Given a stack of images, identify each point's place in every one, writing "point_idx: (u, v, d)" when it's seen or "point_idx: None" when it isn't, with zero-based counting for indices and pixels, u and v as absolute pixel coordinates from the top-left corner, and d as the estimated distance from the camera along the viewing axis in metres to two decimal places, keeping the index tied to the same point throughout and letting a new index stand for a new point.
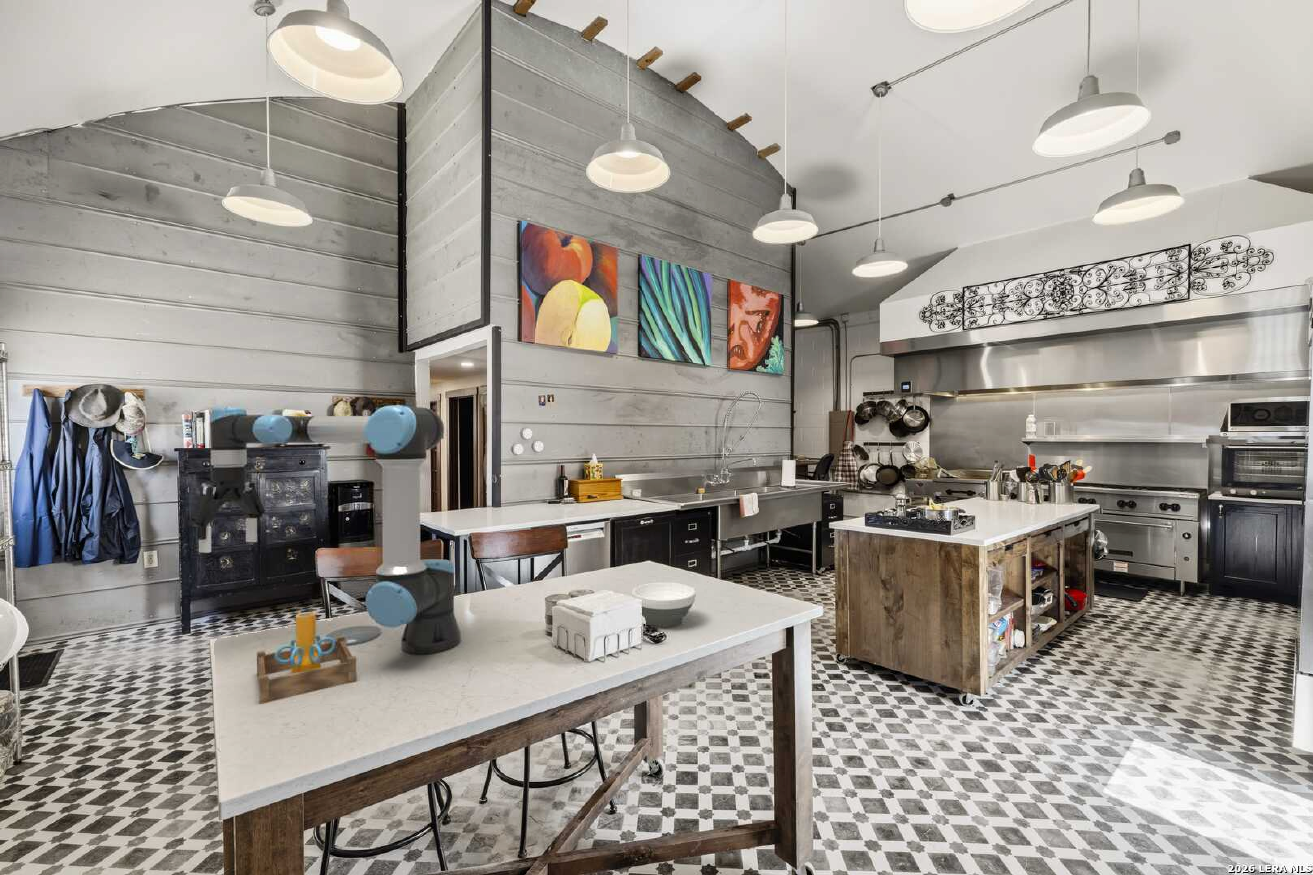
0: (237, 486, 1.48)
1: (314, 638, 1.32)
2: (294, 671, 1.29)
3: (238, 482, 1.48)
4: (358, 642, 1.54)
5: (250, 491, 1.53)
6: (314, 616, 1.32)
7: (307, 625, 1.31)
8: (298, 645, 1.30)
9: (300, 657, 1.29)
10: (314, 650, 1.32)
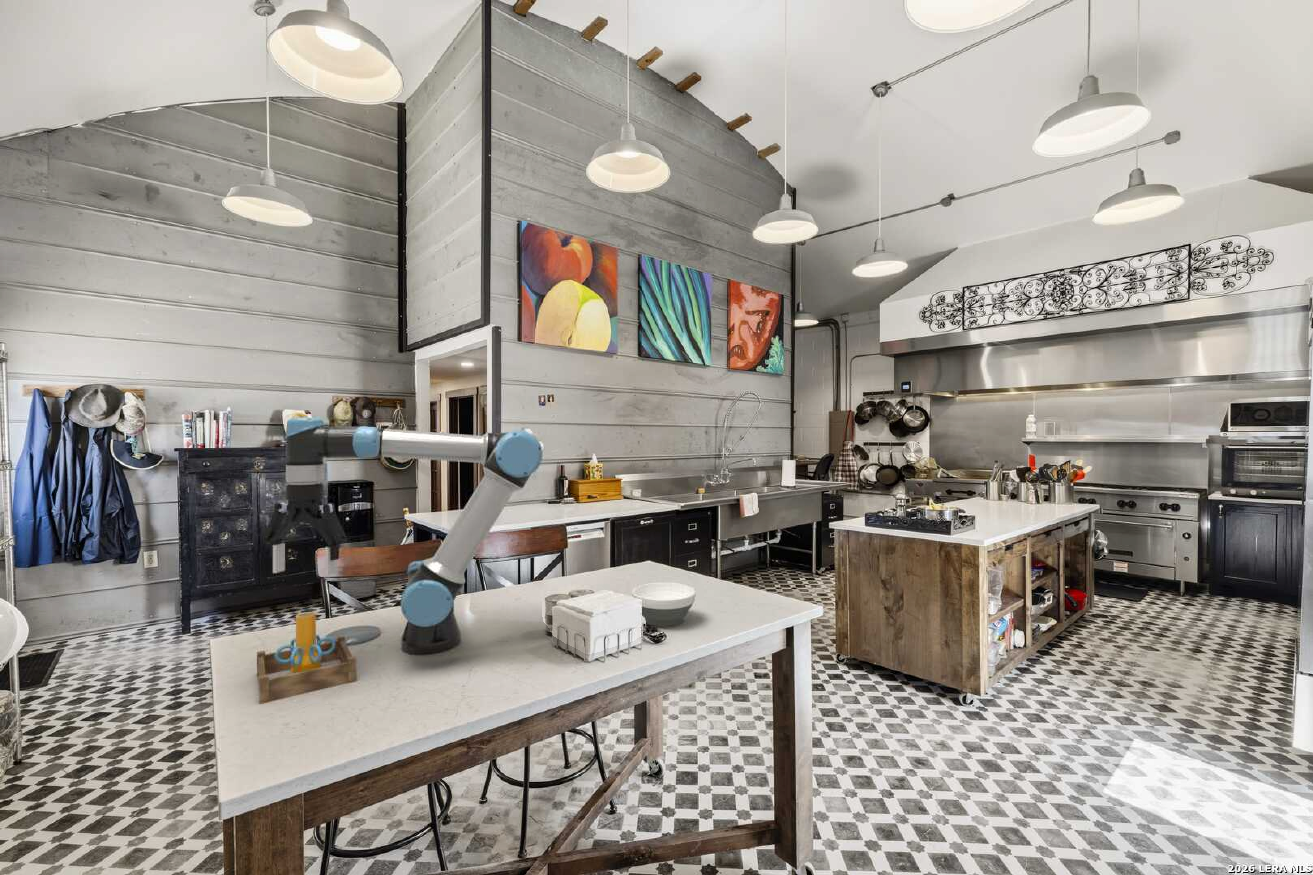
0: (306, 506, 1.31)
1: (314, 638, 1.32)
2: (294, 671, 1.29)
3: (307, 502, 1.31)
4: (358, 642, 1.54)
5: None
6: (314, 616, 1.32)
7: (307, 625, 1.31)
8: (298, 645, 1.30)
9: (300, 657, 1.29)
10: (314, 650, 1.32)
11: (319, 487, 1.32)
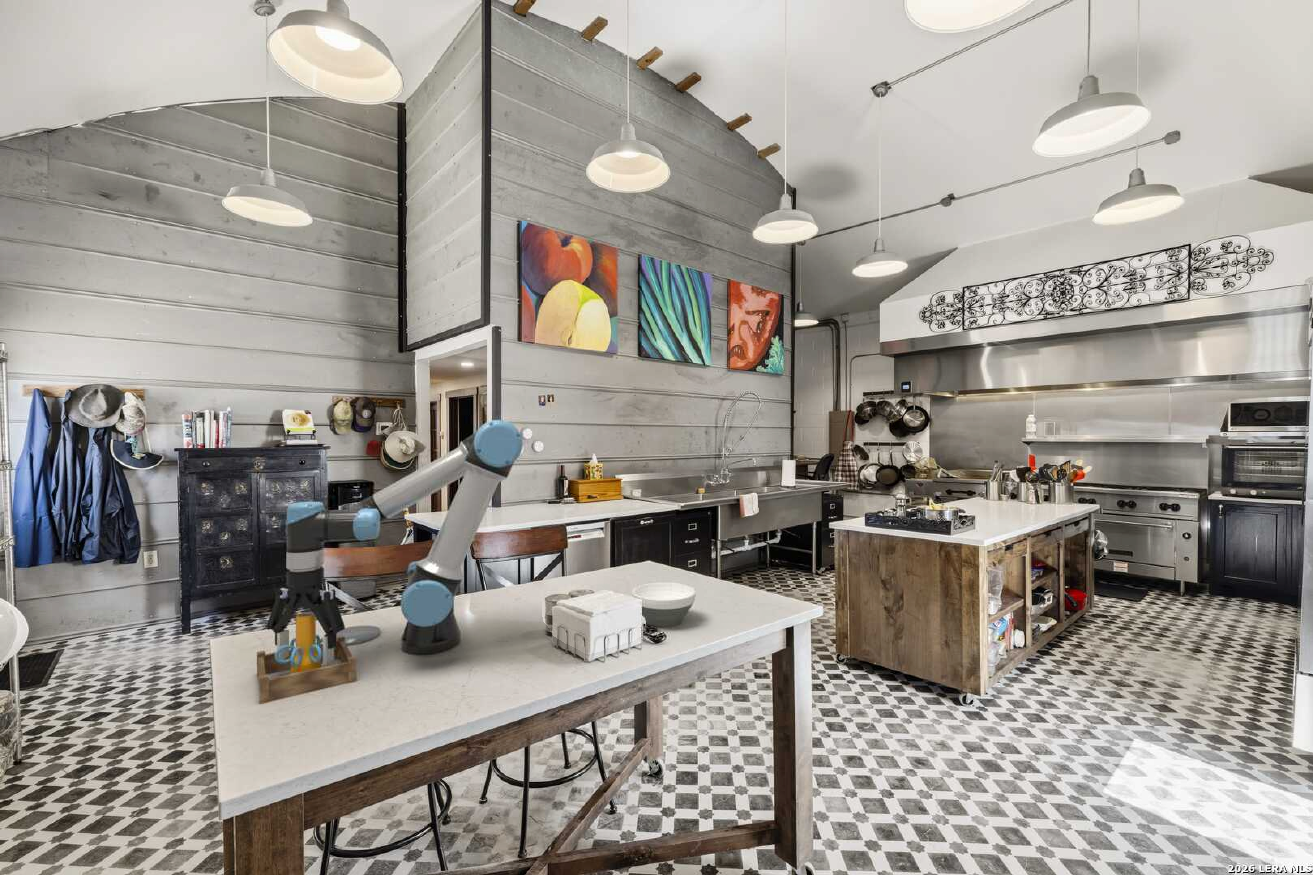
0: (306, 592, 1.31)
1: (314, 638, 1.32)
2: (294, 671, 1.29)
3: (308, 588, 1.31)
4: (358, 642, 1.54)
5: None
6: (314, 616, 1.32)
7: (307, 625, 1.31)
8: (298, 645, 1.30)
9: (300, 657, 1.29)
10: (314, 650, 1.32)
11: (320, 572, 1.32)
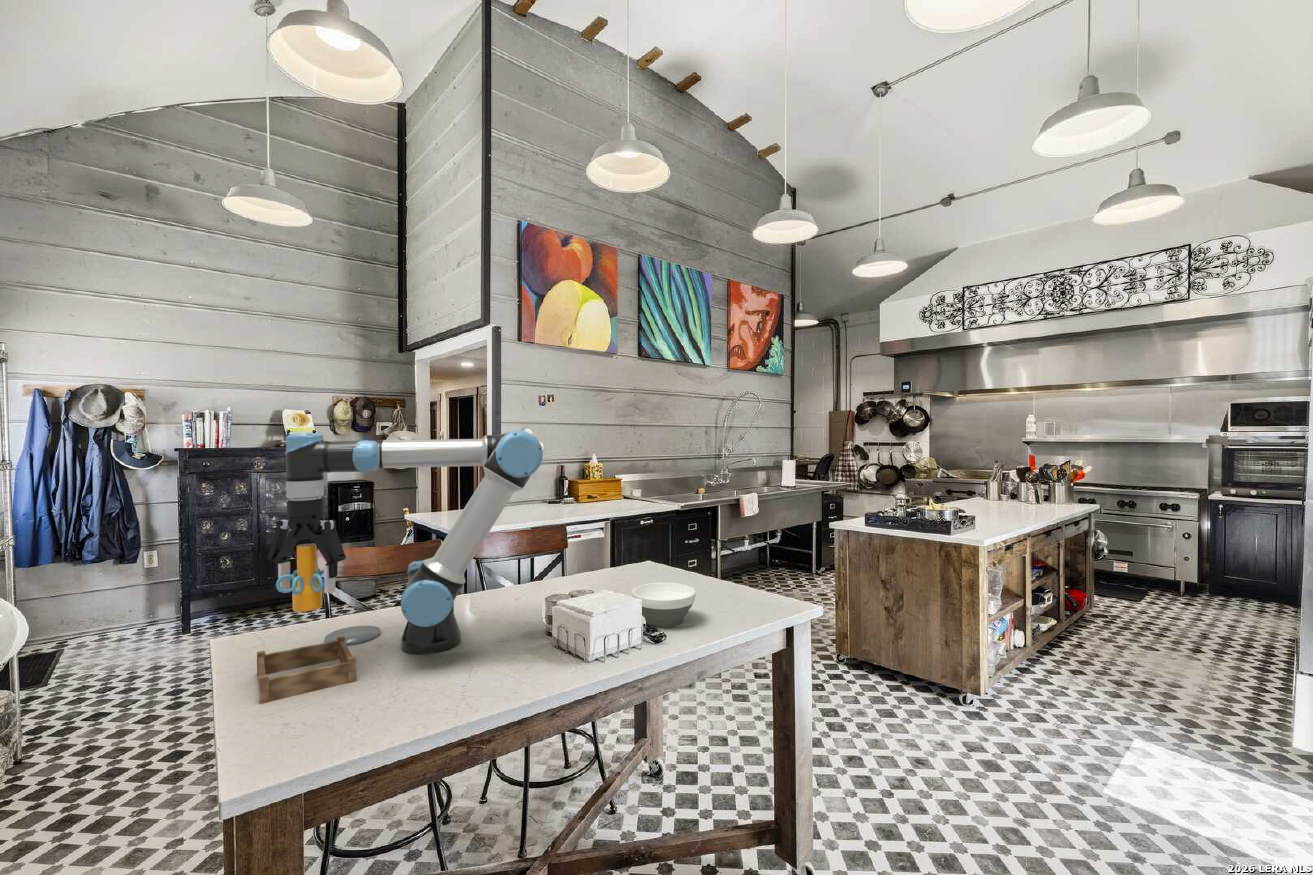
0: (307, 522, 1.31)
1: (315, 569, 1.32)
2: (295, 600, 1.29)
3: (308, 517, 1.31)
4: (358, 642, 1.54)
5: None
6: (315, 547, 1.32)
7: (308, 555, 1.31)
8: (299, 575, 1.30)
9: (301, 587, 1.29)
10: (315, 581, 1.32)
11: (320, 502, 1.32)
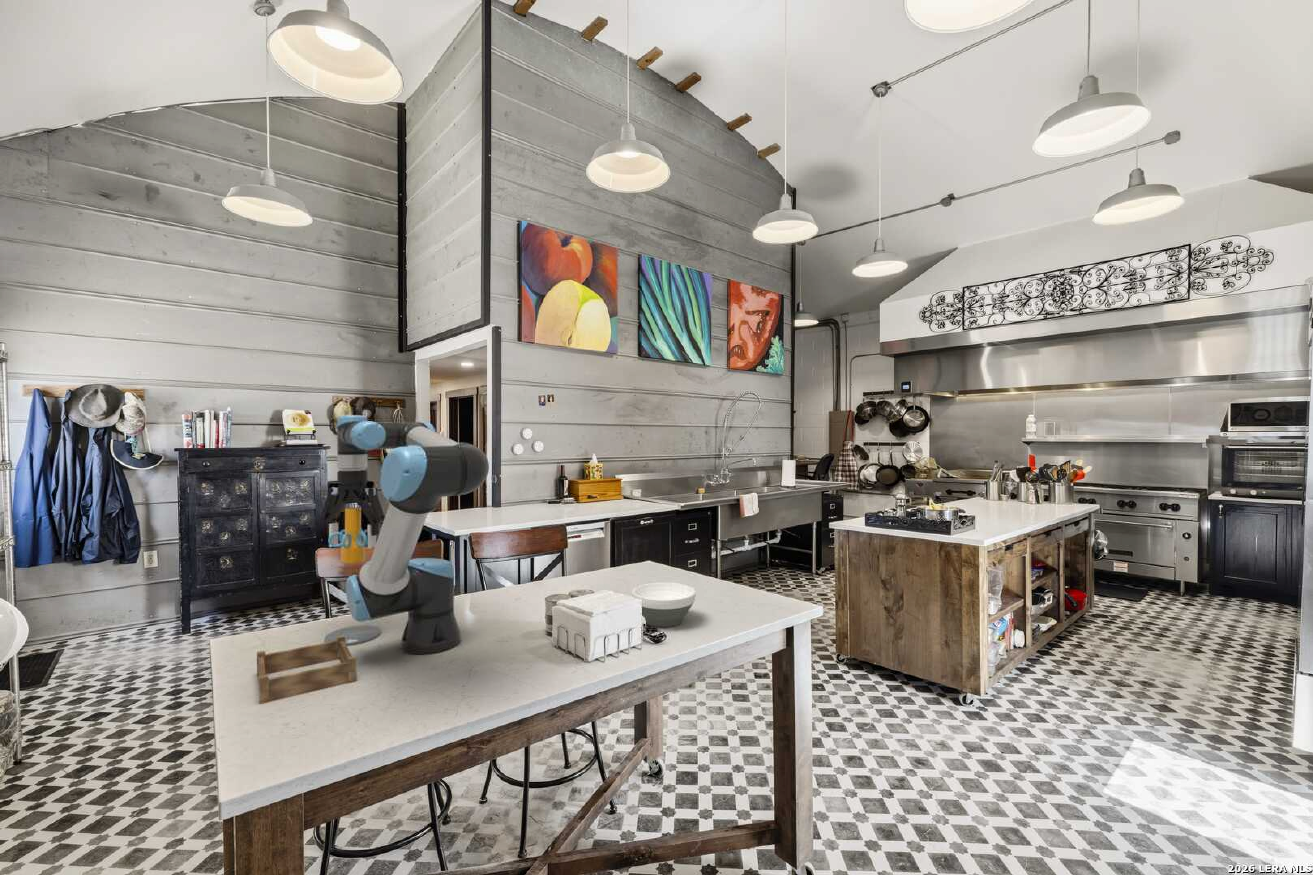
0: (354, 489, 1.57)
1: (360, 528, 1.59)
2: (344, 553, 1.56)
3: (355, 485, 1.57)
4: (358, 642, 1.54)
5: None
6: (360, 510, 1.59)
7: (355, 516, 1.57)
8: (347, 532, 1.57)
9: (349, 542, 1.56)
10: (360, 538, 1.59)
11: (365, 472, 1.58)
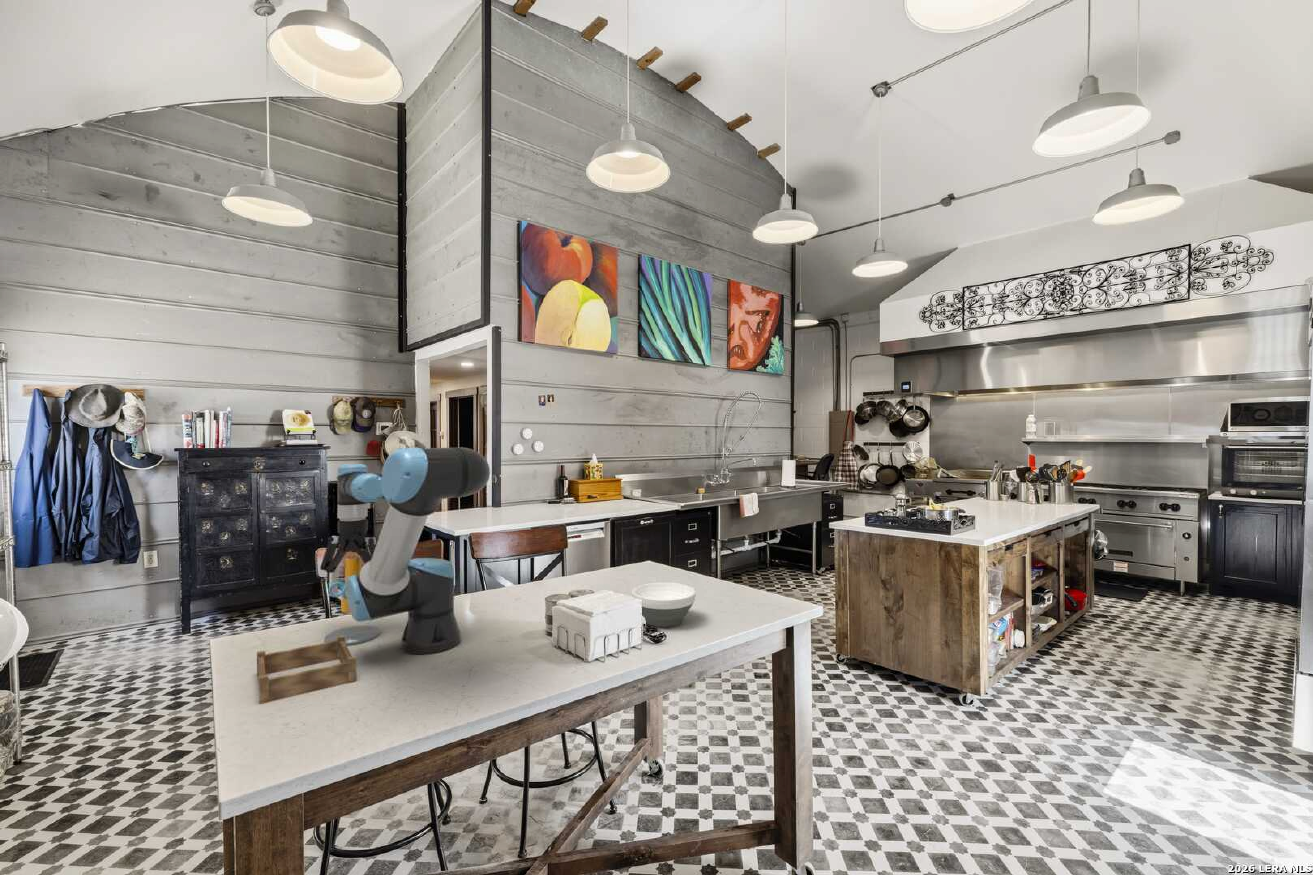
0: (354, 538, 1.58)
1: None
2: (344, 603, 1.56)
3: (355, 535, 1.57)
4: (358, 642, 1.54)
5: None
6: (360, 559, 1.59)
7: (355, 566, 1.57)
8: None
9: None
10: None
11: (365, 522, 1.58)
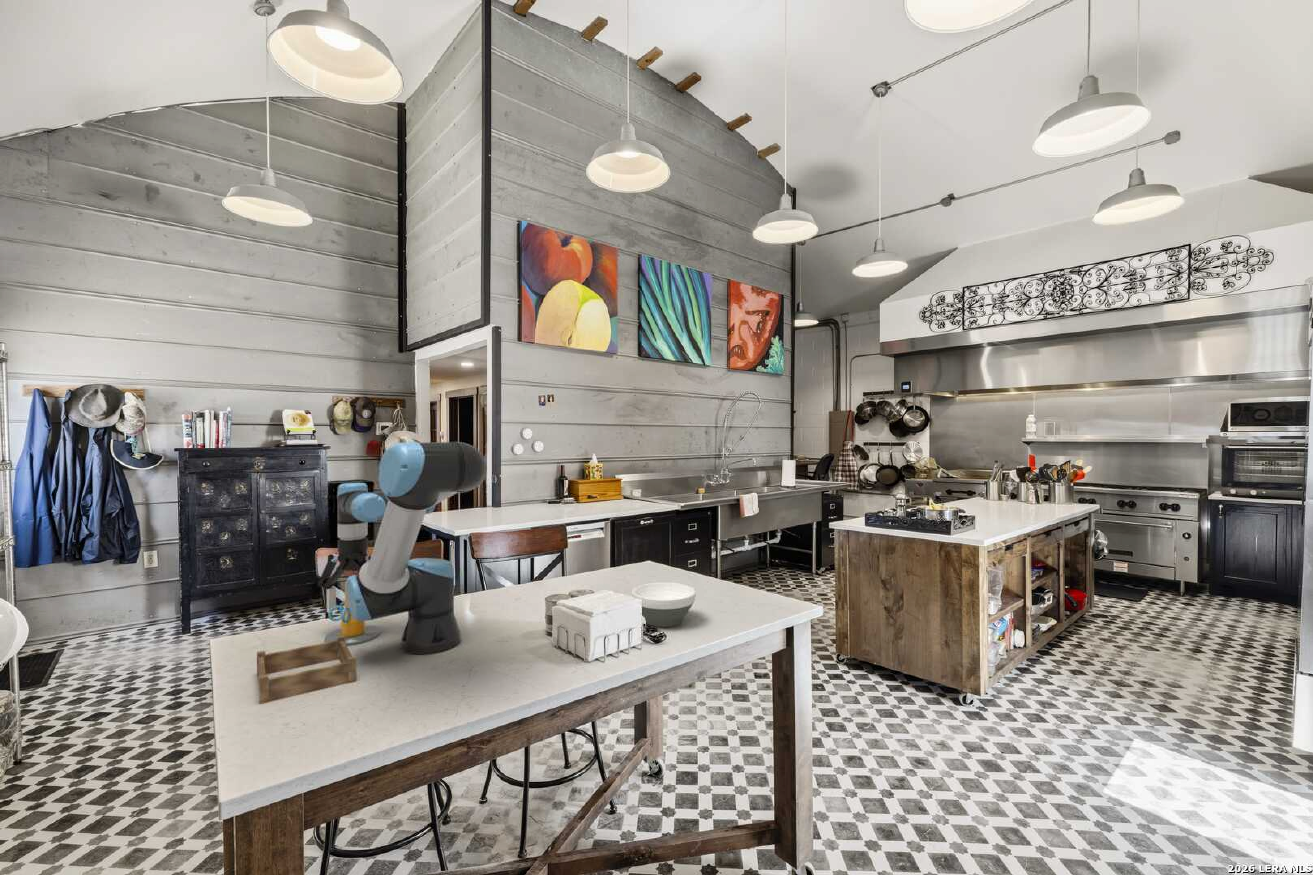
0: (354, 557, 1.58)
1: None
2: (344, 627, 1.56)
3: (355, 554, 1.57)
4: (358, 642, 1.54)
5: None
6: None
7: None
8: (347, 606, 1.57)
9: (349, 616, 1.56)
10: None
11: (365, 541, 1.58)
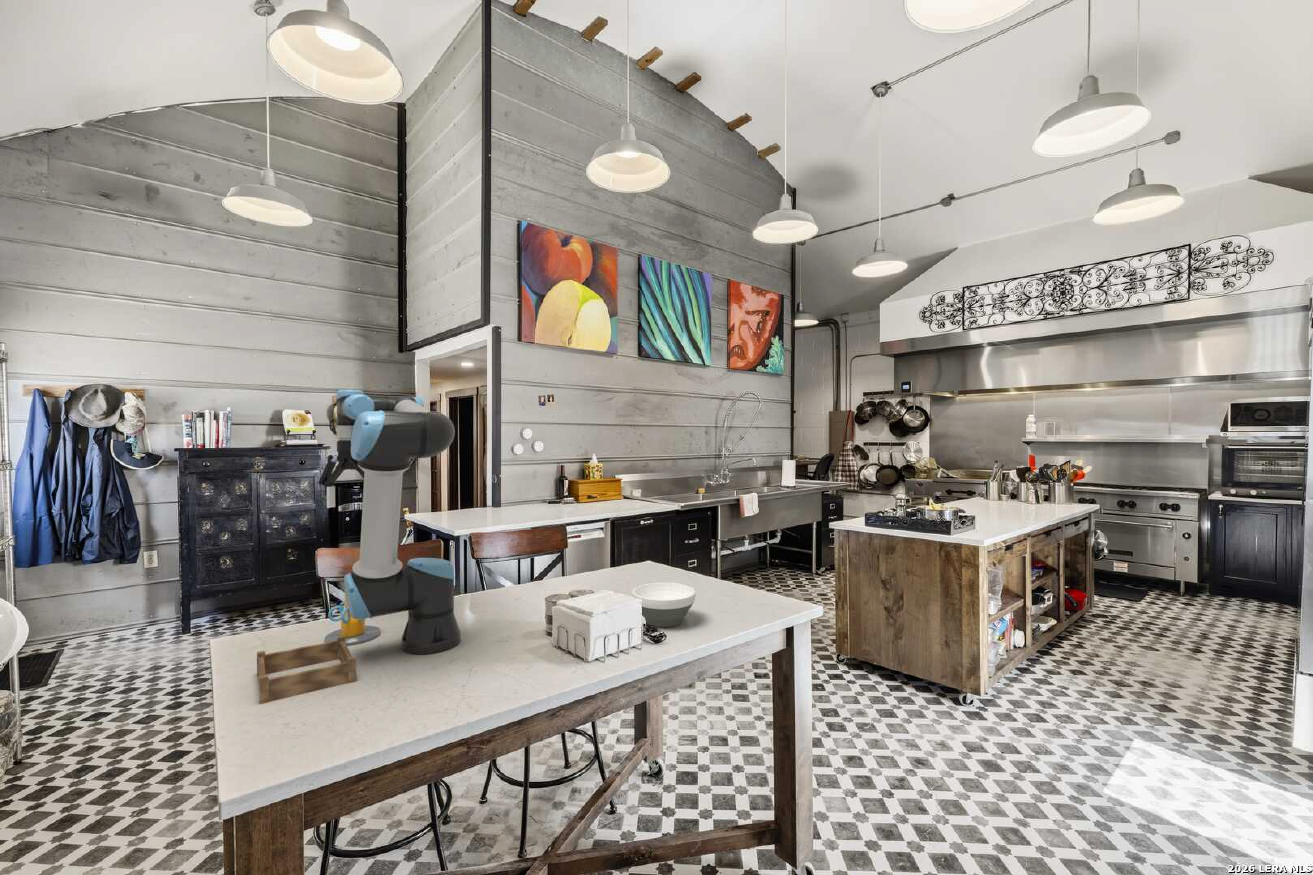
0: (352, 457, 1.73)
1: None
2: (344, 627, 1.56)
3: None
4: (358, 642, 1.54)
5: None
6: None
7: None
8: (347, 606, 1.57)
9: (349, 616, 1.56)
10: None
11: None
